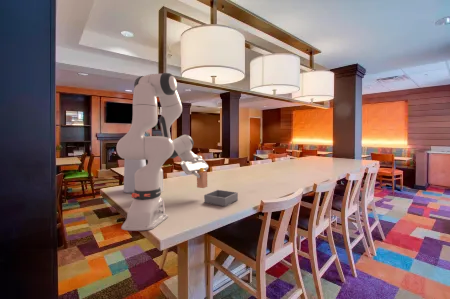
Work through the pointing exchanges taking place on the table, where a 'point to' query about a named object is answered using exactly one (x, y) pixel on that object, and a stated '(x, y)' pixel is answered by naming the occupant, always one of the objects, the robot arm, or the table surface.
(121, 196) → the table surface
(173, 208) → the table surface
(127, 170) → the plastic bottle
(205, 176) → the square container
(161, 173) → the milk carton
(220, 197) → the tray
